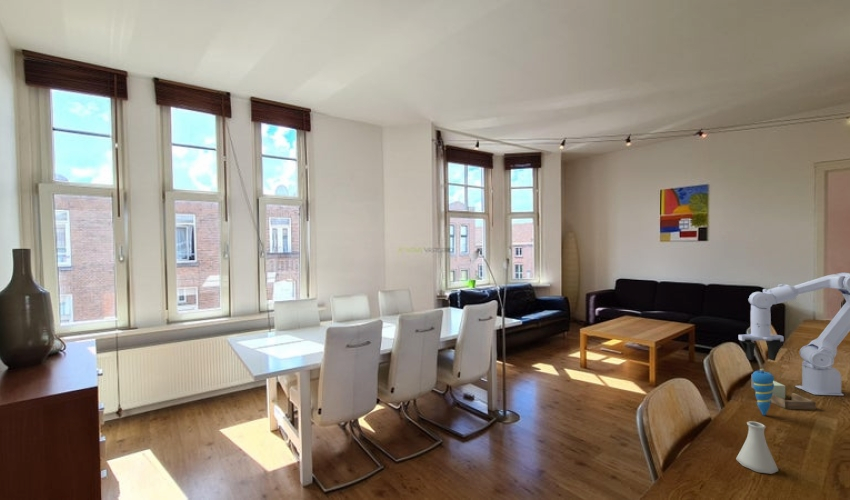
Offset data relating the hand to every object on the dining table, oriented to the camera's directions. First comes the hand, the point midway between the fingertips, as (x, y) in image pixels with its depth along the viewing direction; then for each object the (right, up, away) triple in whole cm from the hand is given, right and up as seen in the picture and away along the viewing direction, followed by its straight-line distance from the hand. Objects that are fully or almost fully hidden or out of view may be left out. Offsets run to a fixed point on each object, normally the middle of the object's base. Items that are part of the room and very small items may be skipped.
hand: (760, 359), depth 142 cm
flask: (-48, -10, -53) cm, 72 cm away
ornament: (-23, -10, -26) cm, 36 cm away
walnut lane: (-7, -10, -17) cm, 21 cm away
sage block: (-6, -9, -8) cm, 14 cm away
